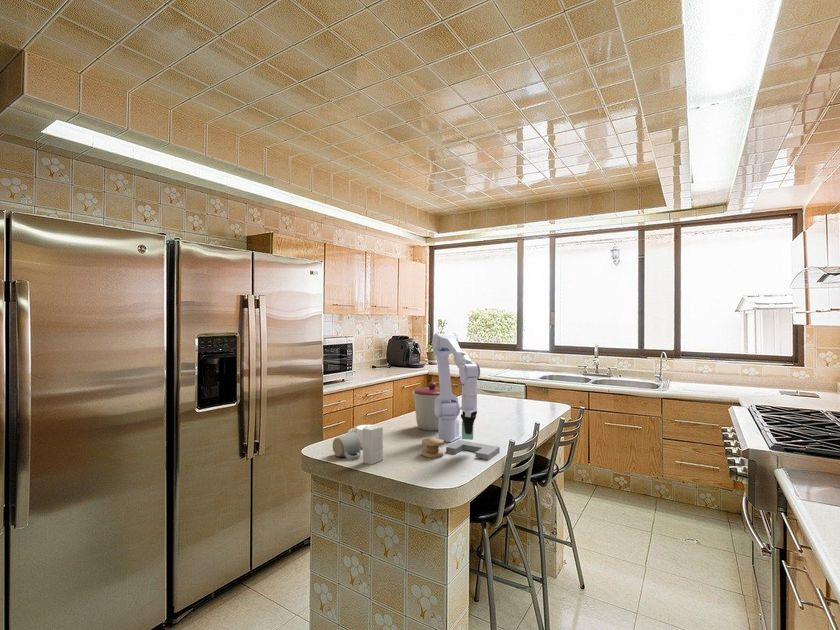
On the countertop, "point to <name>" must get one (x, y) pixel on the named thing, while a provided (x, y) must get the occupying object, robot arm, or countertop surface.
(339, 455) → the ceramic mug
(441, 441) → the bobbin
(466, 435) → the tab block
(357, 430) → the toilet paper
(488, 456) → the gray u-shaped block
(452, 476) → the countertop surface
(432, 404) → the canister
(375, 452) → the skincare box
